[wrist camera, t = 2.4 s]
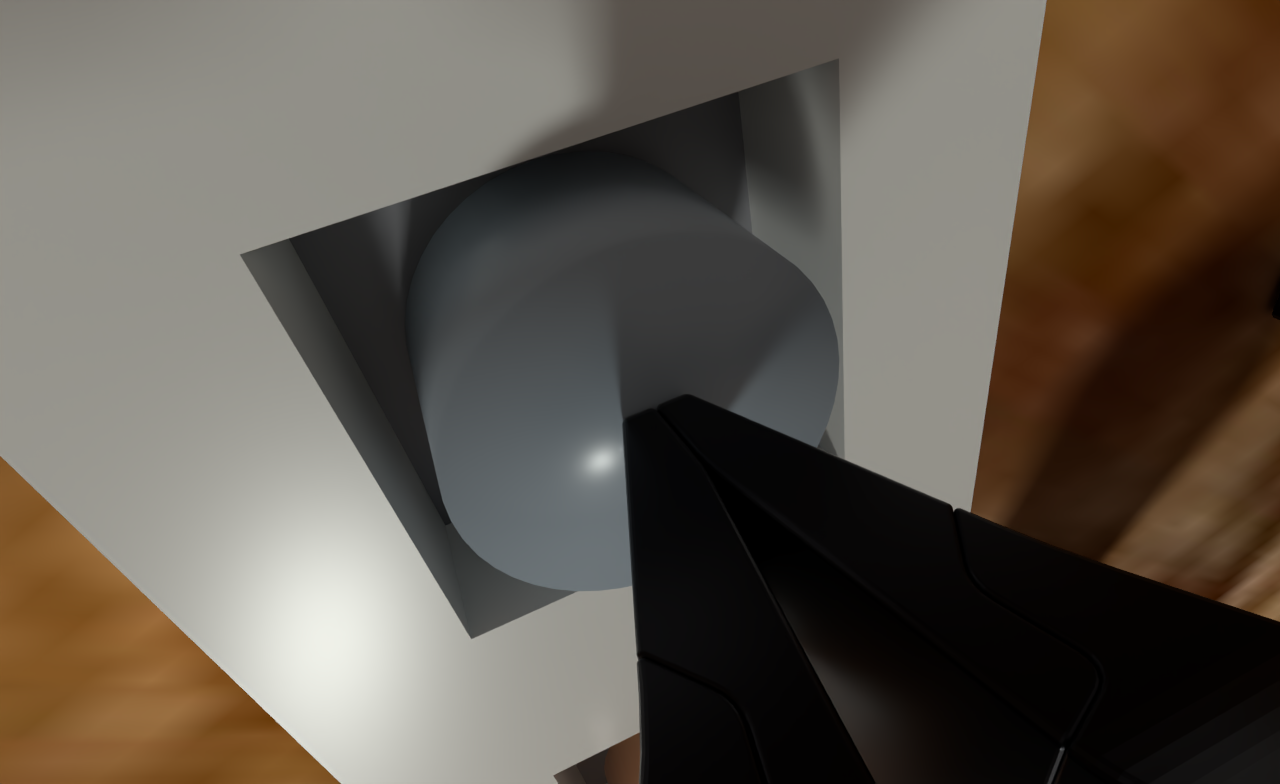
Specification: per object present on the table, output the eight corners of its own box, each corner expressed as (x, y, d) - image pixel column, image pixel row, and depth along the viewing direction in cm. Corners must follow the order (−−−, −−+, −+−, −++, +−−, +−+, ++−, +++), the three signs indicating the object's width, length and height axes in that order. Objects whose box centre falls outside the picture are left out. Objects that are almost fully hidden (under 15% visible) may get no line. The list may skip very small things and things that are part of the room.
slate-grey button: (706, 103, 10) (835, 165, 7) (743, 389, 13) (842, 496, 10) (339, 223, 9) (353, 338, 6) (475, 499, 12) (517, 645, 9)
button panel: (843, -221, 10) (1087, -279, 7) (850, 645, 23) (933, 758, 20) (-111, 12, 8) (-387, 82, 5) (505, 819, 21) (540, 974, 18)
